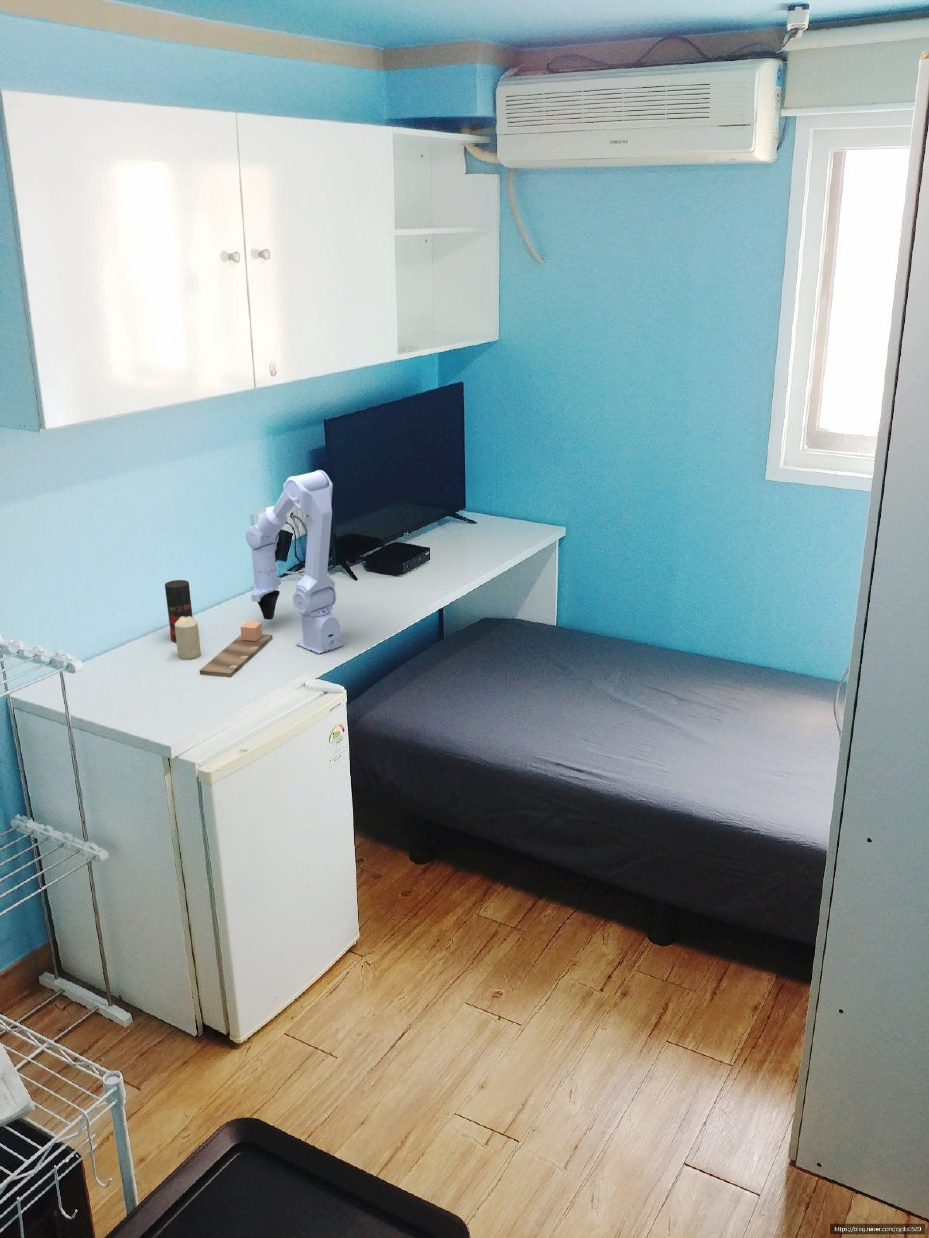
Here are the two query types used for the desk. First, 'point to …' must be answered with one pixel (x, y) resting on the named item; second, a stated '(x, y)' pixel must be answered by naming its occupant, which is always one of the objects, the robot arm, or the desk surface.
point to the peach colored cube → (251, 631)
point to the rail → (234, 656)
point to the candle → (187, 638)
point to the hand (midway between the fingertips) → (268, 618)
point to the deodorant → (177, 603)
